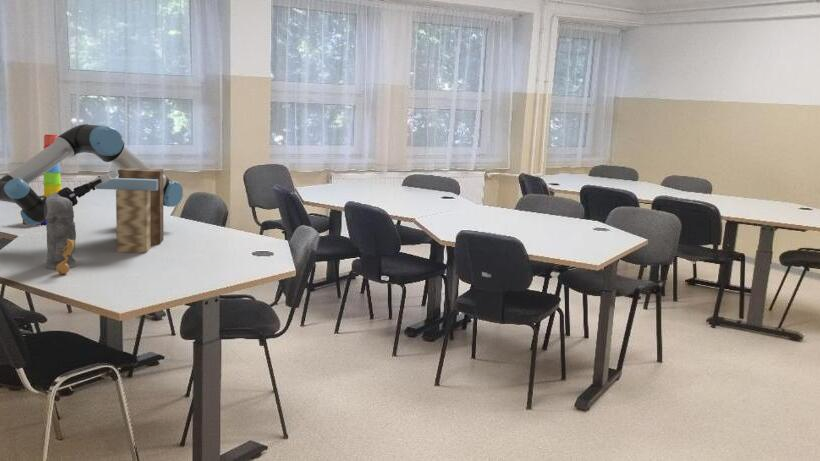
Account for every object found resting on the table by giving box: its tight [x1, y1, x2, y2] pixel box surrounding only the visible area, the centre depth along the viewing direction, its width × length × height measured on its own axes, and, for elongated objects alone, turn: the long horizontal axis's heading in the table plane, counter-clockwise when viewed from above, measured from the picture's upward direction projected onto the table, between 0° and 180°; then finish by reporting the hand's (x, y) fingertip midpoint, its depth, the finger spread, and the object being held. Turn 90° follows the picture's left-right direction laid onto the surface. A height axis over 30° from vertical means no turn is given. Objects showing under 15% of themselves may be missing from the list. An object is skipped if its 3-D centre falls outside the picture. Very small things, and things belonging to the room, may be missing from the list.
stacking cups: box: [42, 134, 63, 198], centre depth 402 cm, size 10×10×35 cm
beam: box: [95, 176, 158, 191], centre depth 278 cm, size 22×4×4 cm, turn 101°
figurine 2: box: [55, 239, 76, 275], centre depth 241 cm, size 8×6×12 cm
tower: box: [117, 168, 165, 245], centre depth 297 cm, size 16×9×30 cm, turn 101°
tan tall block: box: [115, 190, 152, 253], centre depth 281 cm, size 11×9×24 cm
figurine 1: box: [44, 195, 77, 270], centre depth 251 cm, size 10×14×25 cm
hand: (113, 174), depth 277 cm, fingers open, 13 cm apart
